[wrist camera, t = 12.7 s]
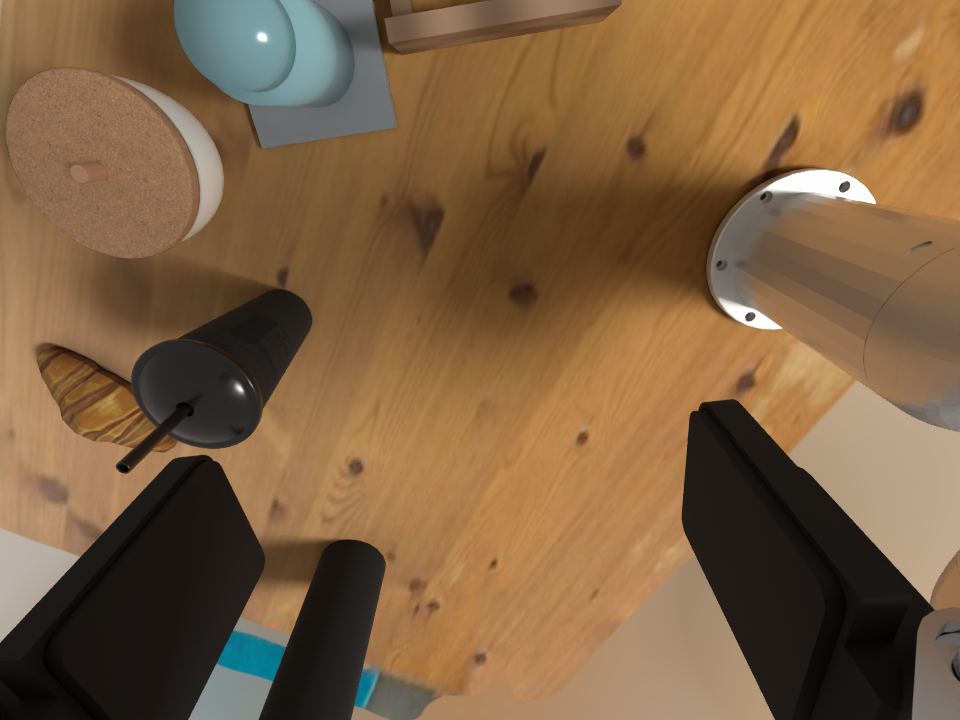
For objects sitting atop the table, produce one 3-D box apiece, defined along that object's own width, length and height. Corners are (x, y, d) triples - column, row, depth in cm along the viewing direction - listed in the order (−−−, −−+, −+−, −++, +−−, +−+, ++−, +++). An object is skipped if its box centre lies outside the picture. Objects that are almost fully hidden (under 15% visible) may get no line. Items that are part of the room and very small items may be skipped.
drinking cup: (225, 279, 39) (3, 411, 21) (313, 267, 38) (161, 392, 21) (257, 359, 42) (90, 531, 25) (338, 350, 42) (227, 518, 24)
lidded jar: (240, 253, 38) (171, 289, 30) (102, 206, 36) (-13, 230, 28) (258, 113, 33) (181, 110, 25) (100, 53, 32) (-38, 28, 23)
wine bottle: (399, 567, 55) (314, 992, 28) (352, 592, 57) (233, 1009, 30) (354, 530, 52) (214, 960, 25) (307, 557, 54) (132, 981, 27)
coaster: (363, -50, 29) (361, -53, 29) (397, 127, 34) (396, 127, 33) (212, -21, 30) (207, -24, 29) (265, 148, 34) (262, 148, 34)
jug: (323, -74, 28) (234, -173, 18) (365, 99, 32) (310, 93, 22) (230, -53, 29) (95, -139, 19) (283, 114, 33) (195, 114, 23)
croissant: (36, 366, 43) (-16, 394, 39) (73, 324, 41) (23, 348, 37) (161, 456, 48) (128, 490, 44) (201, 422, 46) (170, 454, 42)
